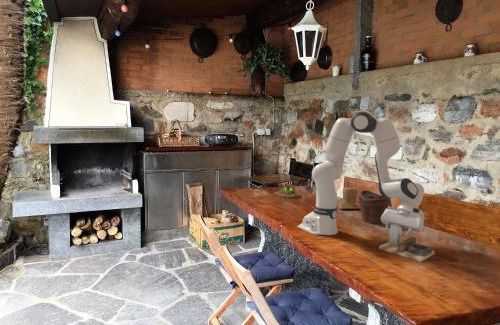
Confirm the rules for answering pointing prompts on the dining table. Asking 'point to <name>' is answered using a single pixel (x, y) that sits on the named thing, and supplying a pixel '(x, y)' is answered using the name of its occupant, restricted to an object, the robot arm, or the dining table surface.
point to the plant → (287, 193)
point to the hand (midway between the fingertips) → (395, 233)
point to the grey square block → (395, 234)
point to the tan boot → (349, 199)
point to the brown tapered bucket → (372, 206)
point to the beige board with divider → (409, 249)
